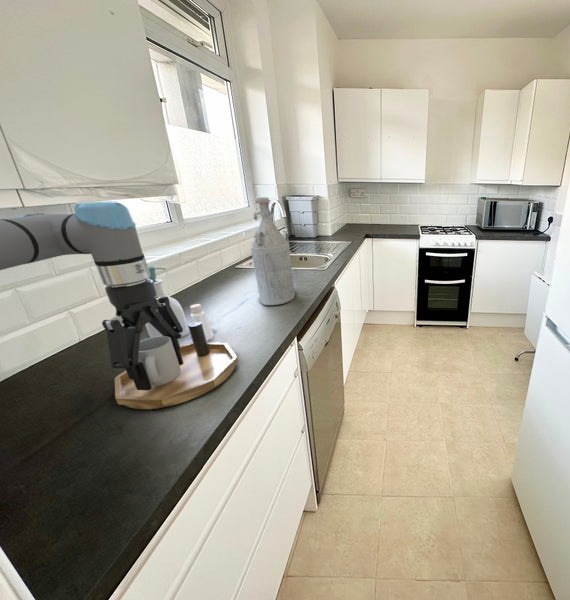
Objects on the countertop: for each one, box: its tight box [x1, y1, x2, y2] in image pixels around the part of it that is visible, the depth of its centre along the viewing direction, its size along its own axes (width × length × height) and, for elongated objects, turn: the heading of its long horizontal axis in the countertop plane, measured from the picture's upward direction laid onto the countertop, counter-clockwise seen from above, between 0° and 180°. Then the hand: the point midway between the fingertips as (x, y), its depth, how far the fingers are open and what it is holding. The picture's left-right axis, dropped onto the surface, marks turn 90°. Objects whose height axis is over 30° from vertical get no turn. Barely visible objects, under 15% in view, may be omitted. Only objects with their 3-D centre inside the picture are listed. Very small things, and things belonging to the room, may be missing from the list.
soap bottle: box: [144, 265, 190, 338], centre depth 93 cm, size 10×10×23 cm
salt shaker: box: [189, 303, 215, 342], centre depth 94 cm, size 5×5×11 cm
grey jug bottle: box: [249, 196, 296, 306], centre depth 119 cm, size 13×17×40 cm
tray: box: [114, 322, 239, 410], centre depth 75 cm, size 24×24×10 cm
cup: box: [138, 336, 181, 386], centre depth 69 cm, size 7×10×9 cm
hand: (161, 375), depth 71 cm, fingers closed on cup, 9 cm apart
